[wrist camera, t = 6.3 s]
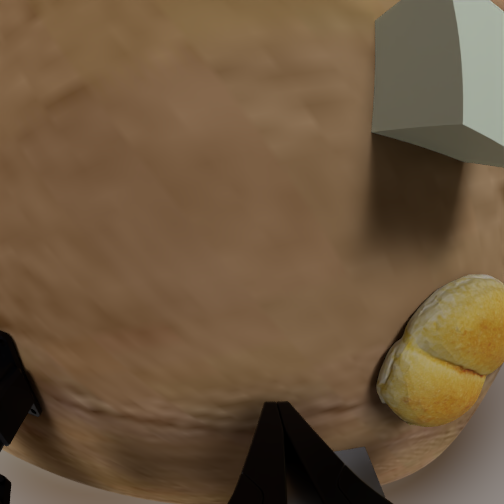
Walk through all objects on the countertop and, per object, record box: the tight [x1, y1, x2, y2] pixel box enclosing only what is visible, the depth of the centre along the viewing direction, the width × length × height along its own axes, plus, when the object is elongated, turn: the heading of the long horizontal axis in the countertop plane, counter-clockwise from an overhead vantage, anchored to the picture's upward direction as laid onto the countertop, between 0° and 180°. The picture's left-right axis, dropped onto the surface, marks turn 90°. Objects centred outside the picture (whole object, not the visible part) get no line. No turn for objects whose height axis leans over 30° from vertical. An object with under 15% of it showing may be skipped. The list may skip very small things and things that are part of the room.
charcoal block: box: [334, 447, 385, 498], centre depth 13 cm, size 5×5×5 cm
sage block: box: [371, 0, 504, 168], centre depth 6 cm, size 5×5×5 cm
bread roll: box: [376, 274, 504, 427], centre depth 11 cm, size 8×9×4 cm
